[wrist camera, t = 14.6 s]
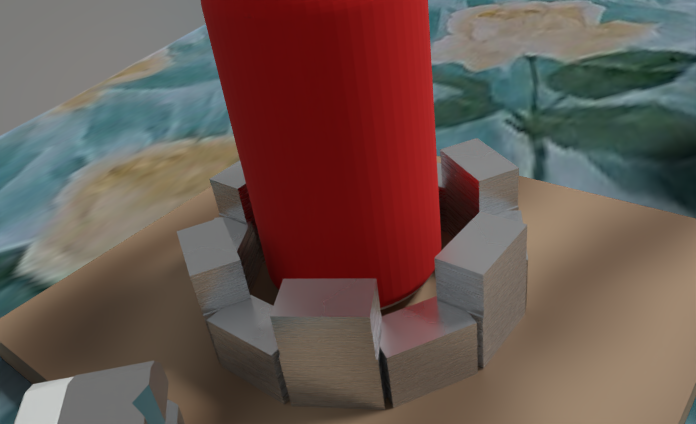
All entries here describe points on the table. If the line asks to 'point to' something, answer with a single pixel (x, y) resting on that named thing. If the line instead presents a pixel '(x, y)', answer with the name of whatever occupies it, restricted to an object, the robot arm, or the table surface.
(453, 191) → the castellated ring nut
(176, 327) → the brown flat sheet
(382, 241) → the beverage can
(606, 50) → the table surface
